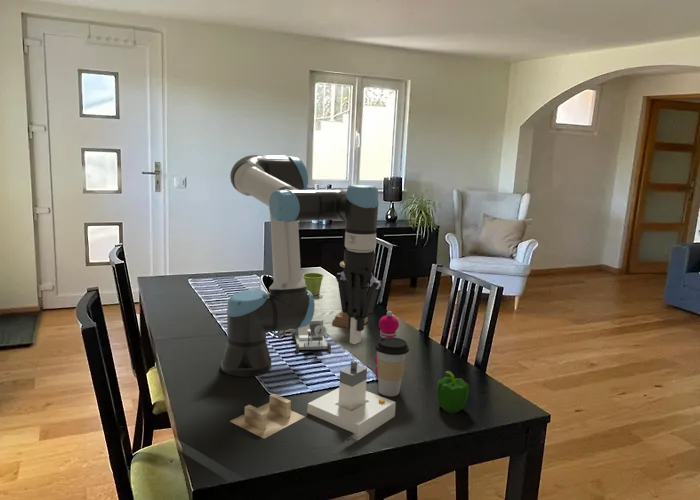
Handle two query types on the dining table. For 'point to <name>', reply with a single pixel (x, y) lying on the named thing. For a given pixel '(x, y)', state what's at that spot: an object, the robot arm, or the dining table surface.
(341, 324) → the candle holder
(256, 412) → the plate with raised blocks
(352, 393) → the plug
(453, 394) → the bell pepper
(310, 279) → the plant pot
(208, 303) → the dining table surface
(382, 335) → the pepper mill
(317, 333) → the grey mechanical device
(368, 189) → the robot arm
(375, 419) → the port block
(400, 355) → the coffee cup
